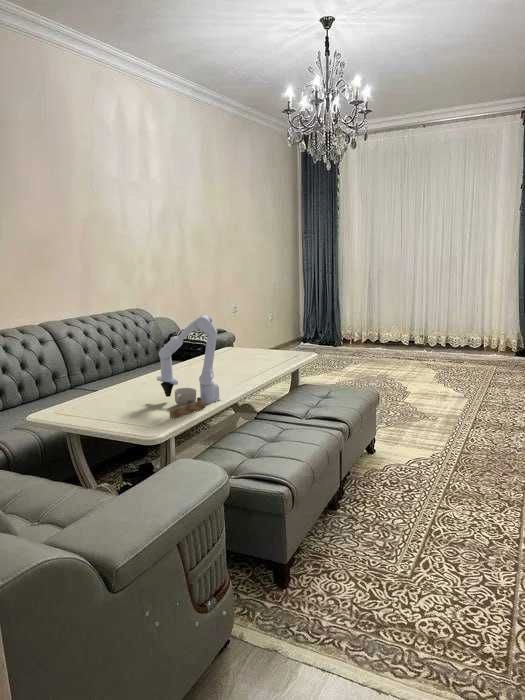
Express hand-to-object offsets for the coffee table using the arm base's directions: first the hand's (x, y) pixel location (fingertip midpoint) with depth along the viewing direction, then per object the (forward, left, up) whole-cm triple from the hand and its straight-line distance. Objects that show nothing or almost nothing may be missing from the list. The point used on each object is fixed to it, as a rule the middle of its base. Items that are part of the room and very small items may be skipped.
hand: (168, 396), depth 276 cm
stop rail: (+6, +22, -3) cm, 23 cm away
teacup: (0, +13, -3) cm, 13 cm away
